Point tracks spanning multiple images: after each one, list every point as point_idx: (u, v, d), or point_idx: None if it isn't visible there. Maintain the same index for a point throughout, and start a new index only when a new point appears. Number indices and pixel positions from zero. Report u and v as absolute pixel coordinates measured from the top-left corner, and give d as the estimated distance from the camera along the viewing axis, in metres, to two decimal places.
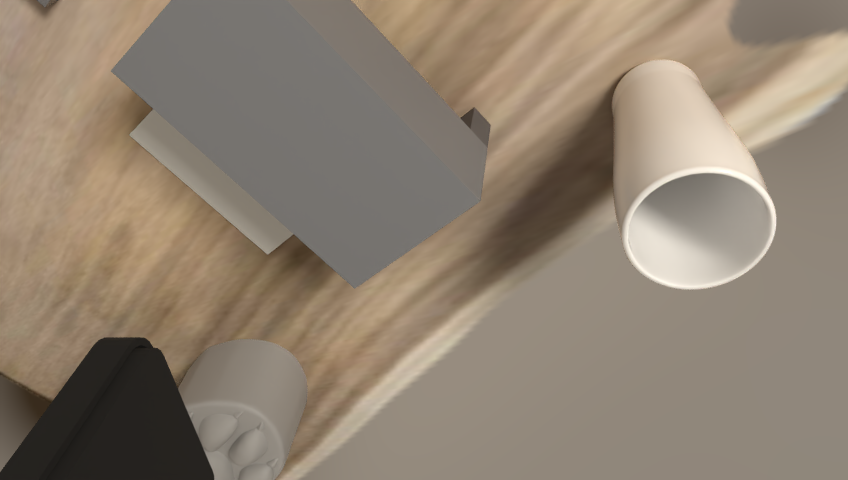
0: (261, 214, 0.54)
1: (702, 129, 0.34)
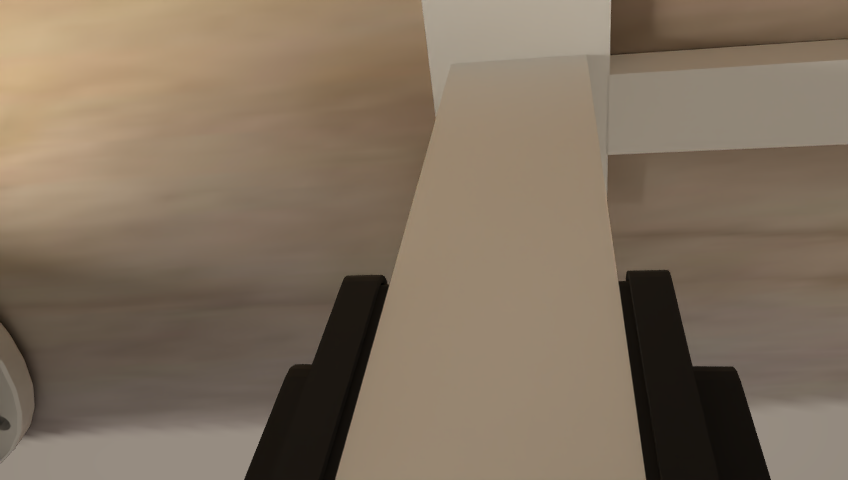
0: None
1: None
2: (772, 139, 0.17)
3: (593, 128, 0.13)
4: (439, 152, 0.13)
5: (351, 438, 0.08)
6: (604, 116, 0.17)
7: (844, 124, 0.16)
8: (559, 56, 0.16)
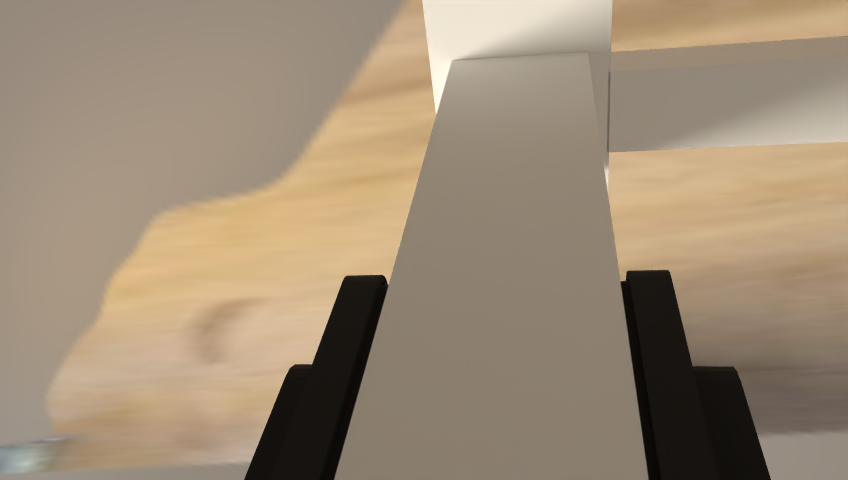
0: None
1: None
2: (774, 136, 0.17)
3: (594, 124, 0.13)
4: (440, 148, 0.13)
5: (352, 434, 0.08)
6: (605, 113, 0.17)
7: (846, 121, 0.16)
8: (560, 53, 0.16)
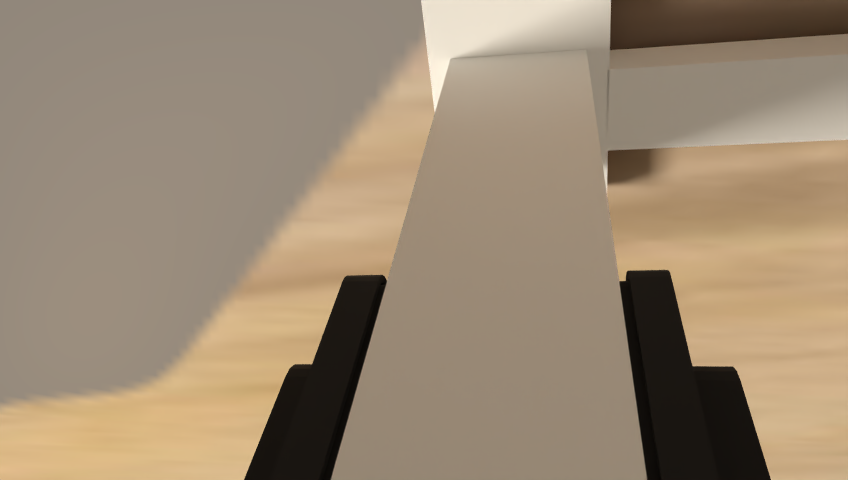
0: None
1: None
2: (773, 134, 0.16)
3: (593, 122, 0.13)
4: (438, 146, 0.13)
5: (350, 433, 0.08)
6: (604, 111, 0.17)
7: (845, 119, 0.16)
8: (559, 51, 0.16)
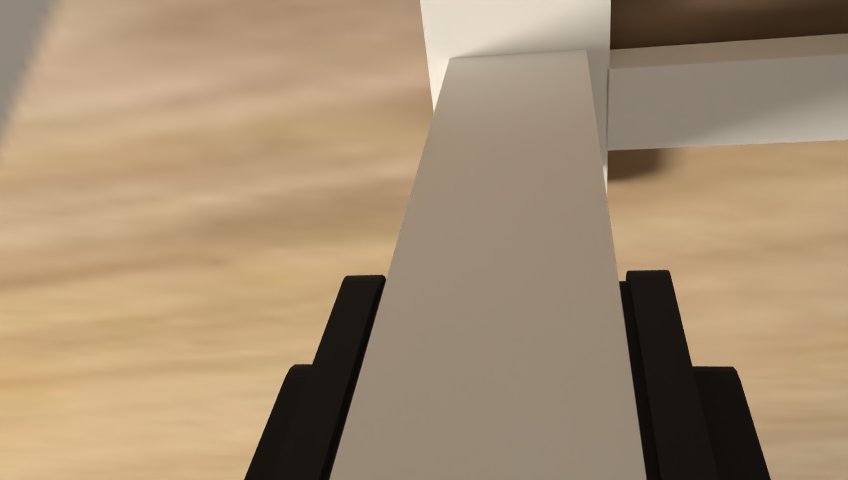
0: None
1: None
2: (773, 134, 0.16)
3: (593, 123, 0.13)
4: (437, 147, 0.13)
5: (347, 437, 0.08)
6: (604, 111, 0.17)
7: (846, 119, 0.16)
8: (558, 51, 0.16)
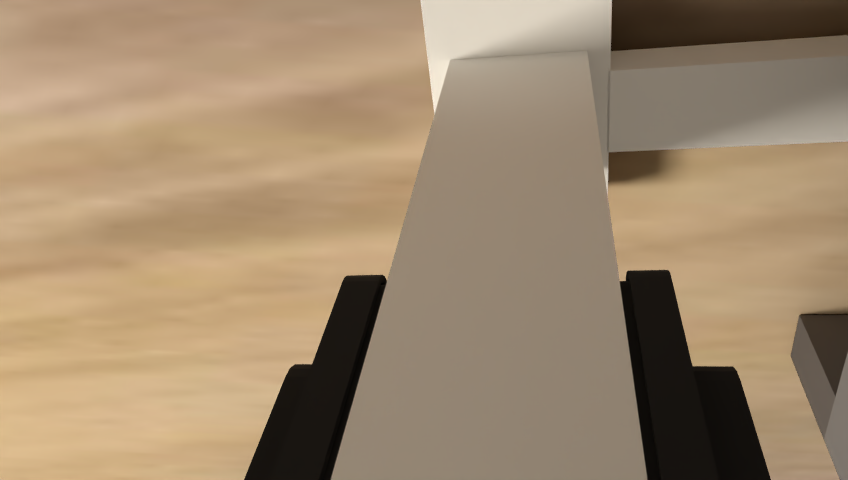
0: None
1: None
2: (775, 136, 0.16)
3: (594, 125, 0.13)
4: (437, 149, 0.13)
5: (347, 441, 0.08)
6: (605, 113, 0.17)
7: None
8: (559, 52, 0.16)
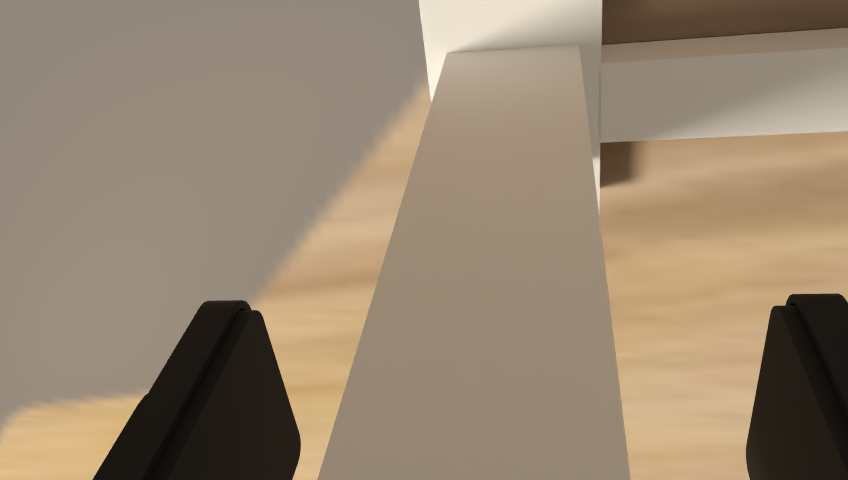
0: None
1: None
2: (760, 127, 0.17)
3: (583, 113, 0.13)
4: (434, 136, 0.13)
5: (347, 399, 0.08)
6: (596, 104, 0.17)
7: (830, 112, 0.17)
8: (552, 45, 0.17)
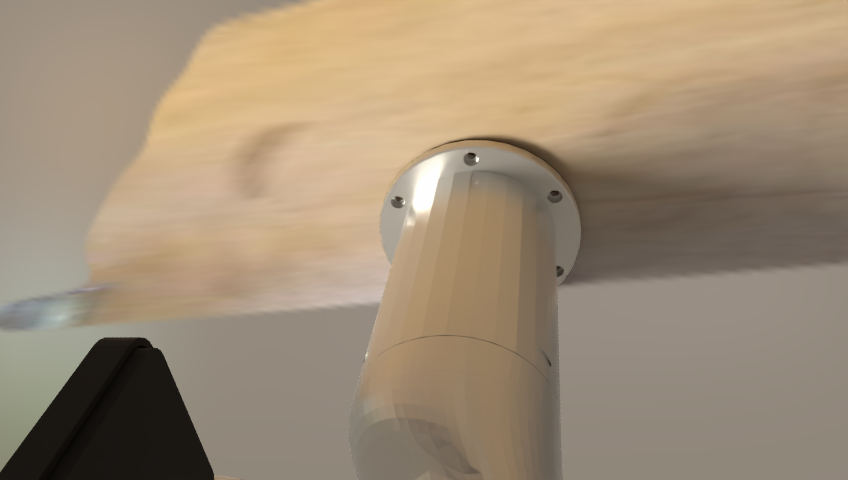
0: None
1: None
2: None
3: None
4: None
5: None
6: None
7: None
8: None
